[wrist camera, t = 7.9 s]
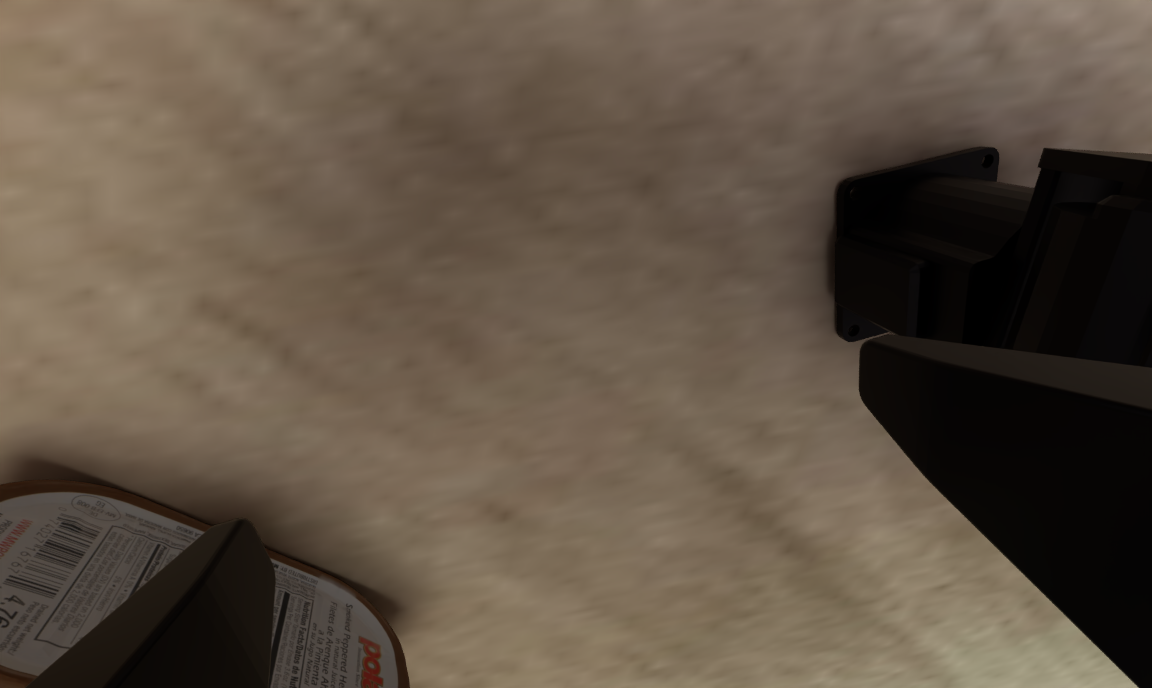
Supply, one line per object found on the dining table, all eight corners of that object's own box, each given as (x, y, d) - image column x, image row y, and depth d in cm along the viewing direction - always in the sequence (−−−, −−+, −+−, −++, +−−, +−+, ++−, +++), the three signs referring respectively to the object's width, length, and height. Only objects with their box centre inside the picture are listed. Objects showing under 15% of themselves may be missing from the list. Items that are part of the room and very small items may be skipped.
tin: (-34, 497, 20) (-311, 752, 12) (13, 423, 19) (-245, 643, 12) (379, 647, 26) (365, 878, 18) (423, 595, 25) (426, 810, 18)
